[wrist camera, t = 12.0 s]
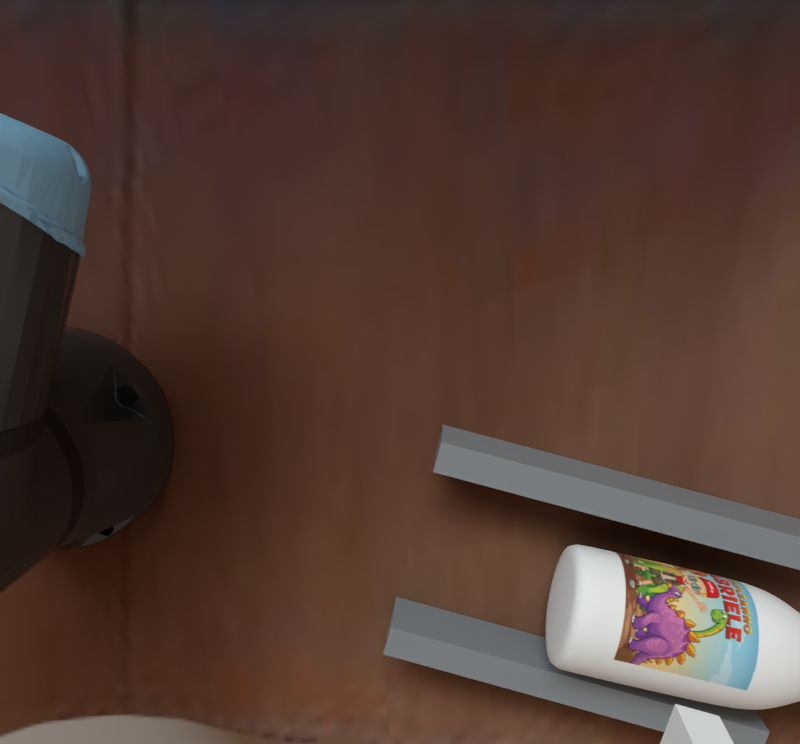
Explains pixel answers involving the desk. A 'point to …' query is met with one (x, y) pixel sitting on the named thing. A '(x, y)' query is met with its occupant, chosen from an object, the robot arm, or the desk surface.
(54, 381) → the robot arm
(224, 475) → the desk surface
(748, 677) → the milk bottle
